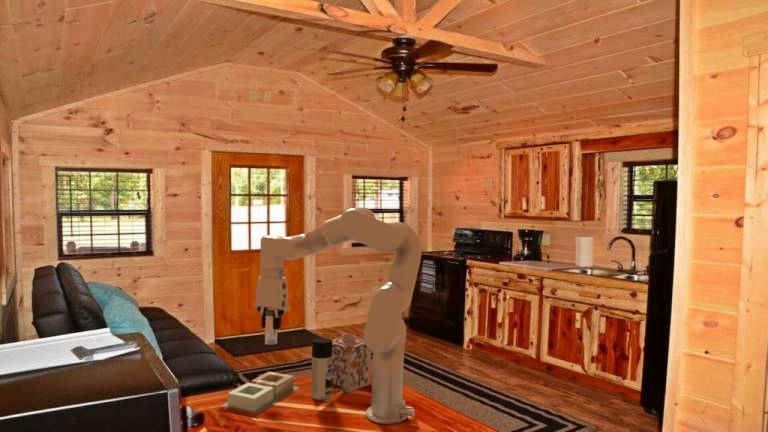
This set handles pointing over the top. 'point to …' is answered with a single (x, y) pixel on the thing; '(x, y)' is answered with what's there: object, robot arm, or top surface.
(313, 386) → the spray can
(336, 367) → the decorative jar
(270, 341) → the steel pin
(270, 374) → the maple mount
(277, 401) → the base board
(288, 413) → the top surface
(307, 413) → the top surface
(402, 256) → the robot arm
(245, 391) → the sage dock
